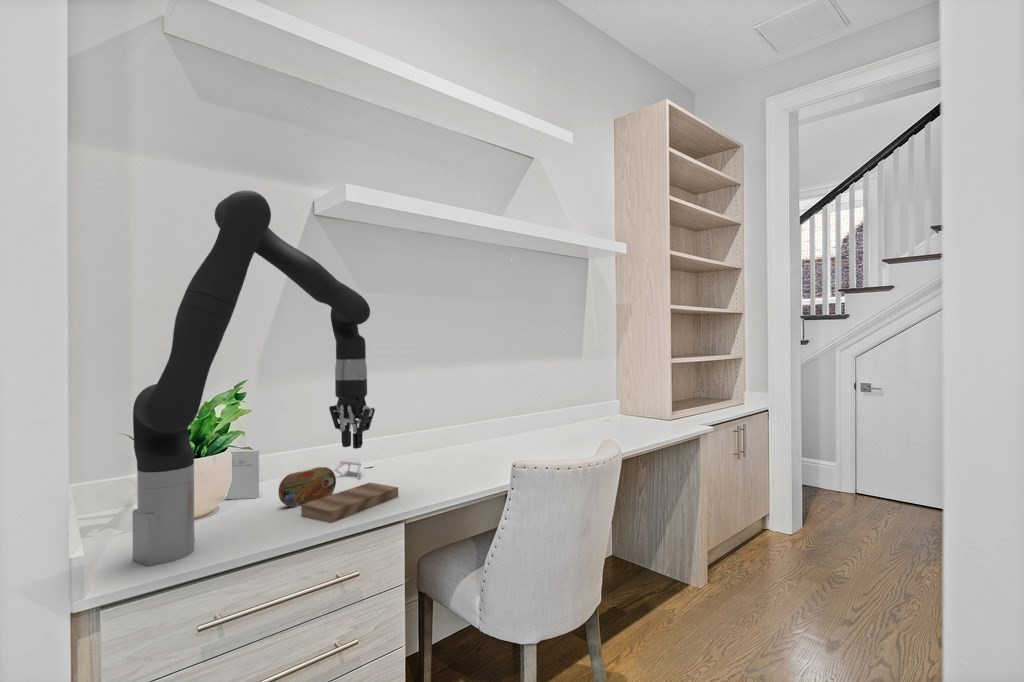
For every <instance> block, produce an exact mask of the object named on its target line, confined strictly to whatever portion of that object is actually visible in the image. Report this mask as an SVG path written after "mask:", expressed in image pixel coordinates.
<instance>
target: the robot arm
mask: <svg viewBox="0 0 1024 682" xmlns="http://www.w3.org/2000/svg"><path fill="white" fill-rule="evenodd" d="M271 212H272V210H271V208H270V205H269V202H268V201H267V199H266V198H265V197H264V196H263V195H262V194H260V193H259V192H257V191H254V190H250V189H249V190H248V189H245V190H241V191H239V190H238V191H236V192H233V193H231V194H230V195H228V196H227V197H225V198H224V199H222V200H221V201H220V202H218V204H217V206H216V207H215V210H214V221H215V224H216V225H217V227H218V228H219V231H218V234H217V237H216V239H215V243H214V244H213V246H212V248H211V250H210V251H209V253H208V255H206V257H205V259H204V260H203V262H202V263H201V265H200V266H199V267H198V269H197V270H196V272H195V273H194V274H193V277H192V278H191V280H190V281H189V284H188V285H187V287H186V290H185V292H184V294H183V297H182V299H181V302H180V303H179V306H178V309H177V312H176V316H175V319H174V327H173V334H172V335H173V336H172V344H171V351H170V353H169V357H168V360H167V363H166V365H165V367H164V369H163V371H162V373H161V376H160V378H159V379H158V381H157V383H155V384H152V385H149V386H147V387H145V388H144V389H142V390H141V391H140V392H139V394H138V395H137V396H136V399H134V400H135V401H134V402H133V403H134V404H133V406H132V407H133V410H132V424H133V425H132V426H133V428H132V429H133V431H132V432H133V433H132V434H133V450H134V455H135V458H136V465H137V466H136V467H137V468H136V471H137V474H136V476H137V477H136V481H137V483H136V484H137V485H136V486H137V492H136V493H137V508H135V509H133V510H132V513H131V515H132V561H134V562H136V563H139V564H142V565H144V566H147V567H153V566H156V565H161V564H167V563H171V562H176V561H179V560H181V559H184V558H187V557H189V556H190V555H191V554H193V553H194V551H195V541H196V539H195V452H194V449H193V447H192V444H191V441H190V436H189V426H190V425H192V423H194V421H195V419H196V418H197V416H198V414H199V410H200V407H201V403H202V398H203V395H204V390H205V386H206V382H207V378H208V375H209V373H210V369H211V366H212V365H213V362H214V359H215V357H216V355H217V352H218V350H219V349H220V346H221V343H222V340H223V339H224V335H225V333H226V330H227V328H228V326H229V324H230V322H231V319H232V317H233V314H234V312H235V310H236V309H235V308H236V306H237V303H238V300H239V297H240V293H241V291H242V289H243V286H244V283H245V280H246V276H247V273H248V270H249V266H250V263H251V261H252V259H253V256H254V255H255V254H256V255H257V256H260V257H261V258H262V259H264V260H265V261H267V262H268V263H269V264H271V265H272V266H273V267H275V268H276V269H277V270H279V271H280V272H282V273H283V274H284V275H285V276H286V277H287V278H289V279H291V281H292V282H294V283H295V284H296V285H297V286H298V287H299V288H301V290H303V291H304V292H305V293H306V294H308V295H309V296H310V298H312V299H314V300H315V301H317V302H318V303H320V304H325V305H327V306H329V307H331V309H330V322H331V327H332V332H333V336H334V339H335V359H336V360H335V367H334V373H335V374H334V376H335V377H334V378H335V379H334V381H335V382H334V383H335V392H334V393H335V397H336V398H337V402H336V404H335V405H330V406H329V408H328V410H329V413H330V416H331V419H332V422H333V425H334V428H335V429H336V430H339V431H340V433H341V444H342V447H343V448H349V447H352V448H353V449H354V450H357V449H361V448H362V446H363V444H364V443H363V433H364V432H365V431H369V430H370V427H371V424H372V421H373V418H374V415H375V411H376V409H375V407H369V406H368V405H367V402H366V396H367V395H368V368H367V367H368V365H367V359H366V355H367V354H366V352H367V351H366V349H367V348H366V339H365V338H364V336H362V335H360V332H359V326H358V325H362V324H365V323H366V322H367V321H368V320H369V318H370V315H371V309H370V304H369V303H368V302H367V300H366V299H365V298H364V297H363V296H362V295H361V294H359V293H358V291H356V290H354V289H352V288H351V287H349V286H348V285H346V284H344V283H343V282H342V281H339V280H338V279H337V278H336V277H335V276H334V275H332V274H331V272H329V271H328V270H327V269H326V268H325V267H324V266H323V265H322V264H321V263H320V262H318V261H317V260H316V259H314V258H313V257H311V256H310V255H308V254H306V253H305V252H304V251H301V250H300V249H297V248H296V247H294V246H293V245H291V244H289V243H288V242H286V241H285V240H283V239H282V238H280V236H279V235H277V234H276V233H275V232H274V231H273V230H271V228H270V227H269V226H270V224H271V219H272V218H271V217H272V213H271ZM351 429H352V431H351ZM352 432H353V433H352Z"/></svg>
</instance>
